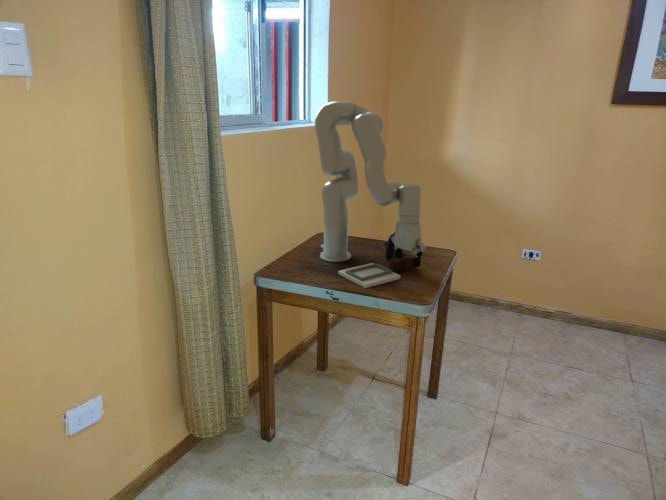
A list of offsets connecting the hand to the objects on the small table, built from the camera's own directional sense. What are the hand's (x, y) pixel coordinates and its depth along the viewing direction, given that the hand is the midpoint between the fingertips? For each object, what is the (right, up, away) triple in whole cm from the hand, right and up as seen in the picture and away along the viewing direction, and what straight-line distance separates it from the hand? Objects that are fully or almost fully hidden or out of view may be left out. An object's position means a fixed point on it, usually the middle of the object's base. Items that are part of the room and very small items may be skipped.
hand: (407, 263), depth 170 cm
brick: (-1, -3, +3) cm, 4 cm away
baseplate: (-15, -4, -5) cm, 16 cm away
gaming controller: (-3, +2, +17) cm, 17 cm away
